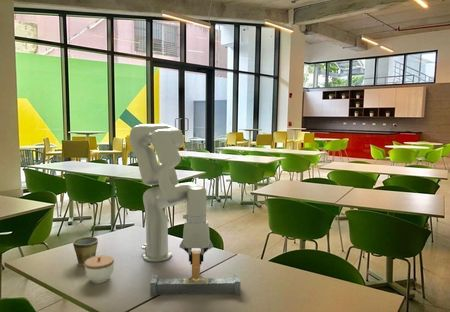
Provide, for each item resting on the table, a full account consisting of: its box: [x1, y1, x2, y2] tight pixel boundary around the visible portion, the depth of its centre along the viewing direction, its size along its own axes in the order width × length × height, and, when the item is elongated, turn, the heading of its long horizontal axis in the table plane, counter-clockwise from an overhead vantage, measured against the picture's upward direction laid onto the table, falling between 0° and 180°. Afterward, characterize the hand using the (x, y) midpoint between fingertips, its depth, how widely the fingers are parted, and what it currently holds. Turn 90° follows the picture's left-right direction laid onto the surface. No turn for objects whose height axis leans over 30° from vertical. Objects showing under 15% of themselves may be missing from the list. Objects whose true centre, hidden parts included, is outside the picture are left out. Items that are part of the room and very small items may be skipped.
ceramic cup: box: [72, 236, 99, 267], centre depth 159 cm, size 13×10×10 cm
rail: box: [149, 273, 241, 297], centre depth 133 cm, size 32×6×5 cm, turn 92°
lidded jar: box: [84, 255, 114, 284], centre depth 142 cm, size 11×11×9 cm
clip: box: [191, 250, 201, 278], centre depth 144 cm, size 8×3×10 cm, turn 2°
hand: (196, 262), depth 144 cm, fingers closed on clip, 3 cm apart
